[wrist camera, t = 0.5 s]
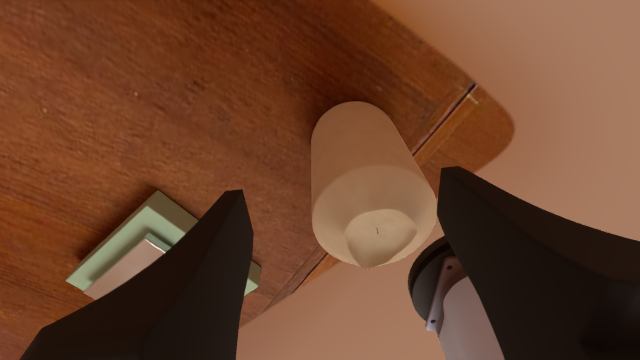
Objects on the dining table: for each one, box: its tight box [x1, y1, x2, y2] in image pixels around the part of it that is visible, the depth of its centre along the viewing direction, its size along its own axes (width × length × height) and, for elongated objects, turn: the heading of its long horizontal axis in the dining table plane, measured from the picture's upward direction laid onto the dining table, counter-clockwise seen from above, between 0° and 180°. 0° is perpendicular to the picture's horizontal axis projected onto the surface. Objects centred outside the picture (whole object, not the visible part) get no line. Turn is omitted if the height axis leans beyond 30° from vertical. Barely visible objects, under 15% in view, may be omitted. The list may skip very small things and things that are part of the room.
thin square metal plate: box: [83, 233, 171, 300], centre depth 25 cm, size 7×7×1 cm
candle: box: [311, 101, 437, 269], centre depth 18 cm, size 6×6×10 cm
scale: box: [66, 190, 261, 296], centre depth 26 cm, size 10×10×2 cm
